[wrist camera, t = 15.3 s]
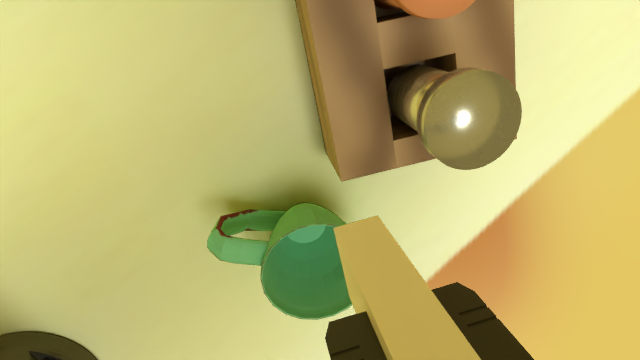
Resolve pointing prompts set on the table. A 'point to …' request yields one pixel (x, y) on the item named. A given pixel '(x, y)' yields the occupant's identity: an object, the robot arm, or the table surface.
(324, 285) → the mug
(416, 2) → the plunger
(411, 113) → the plunger
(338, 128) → the brown wooden block
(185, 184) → the table surface
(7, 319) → the table surface
